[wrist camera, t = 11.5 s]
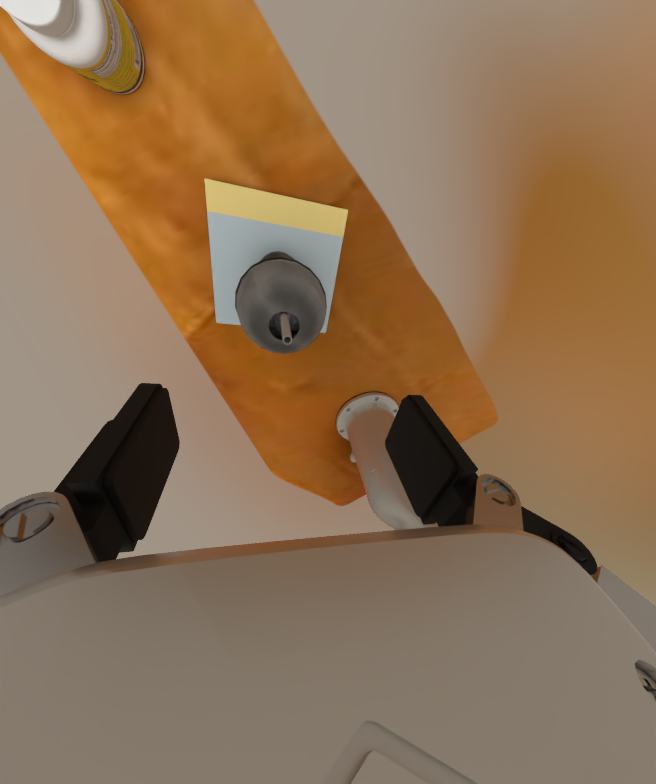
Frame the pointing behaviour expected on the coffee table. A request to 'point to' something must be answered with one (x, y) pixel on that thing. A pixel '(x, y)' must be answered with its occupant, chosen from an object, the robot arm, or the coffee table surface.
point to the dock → (268, 238)
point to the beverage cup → (280, 304)
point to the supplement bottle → (84, 38)
